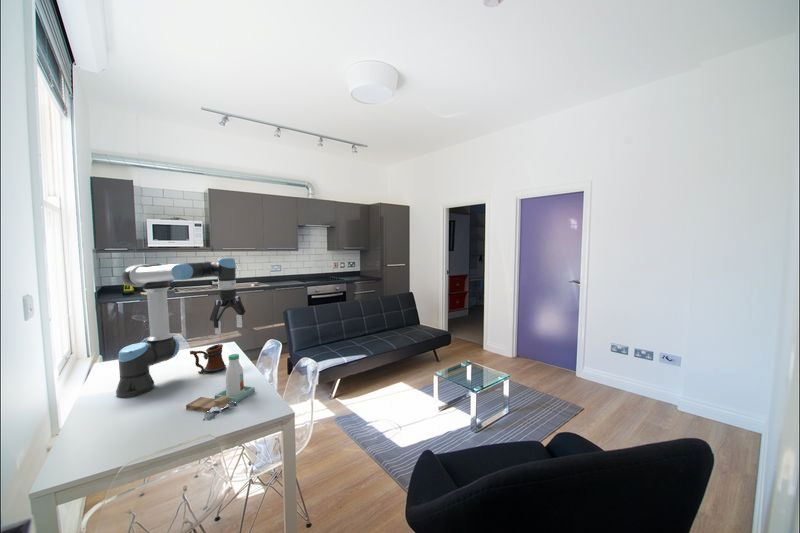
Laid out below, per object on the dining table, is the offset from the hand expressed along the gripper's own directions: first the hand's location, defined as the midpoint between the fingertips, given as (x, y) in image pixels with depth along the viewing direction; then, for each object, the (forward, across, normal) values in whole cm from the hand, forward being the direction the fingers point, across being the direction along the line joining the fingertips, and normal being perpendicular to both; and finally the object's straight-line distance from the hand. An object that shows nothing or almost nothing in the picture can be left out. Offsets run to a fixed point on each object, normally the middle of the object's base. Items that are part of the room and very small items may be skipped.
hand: (229, 330), depth 160 cm
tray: (+31, -4, -6) cm, 32 cm away
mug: (+32, +17, +33) cm, 49 cm away
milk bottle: (+31, -4, -6) cm, 32 cm away
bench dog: (+31, -16, -10) cm, 37 cm away
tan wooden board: (+32, -16, -1) cm, 36 cm away
